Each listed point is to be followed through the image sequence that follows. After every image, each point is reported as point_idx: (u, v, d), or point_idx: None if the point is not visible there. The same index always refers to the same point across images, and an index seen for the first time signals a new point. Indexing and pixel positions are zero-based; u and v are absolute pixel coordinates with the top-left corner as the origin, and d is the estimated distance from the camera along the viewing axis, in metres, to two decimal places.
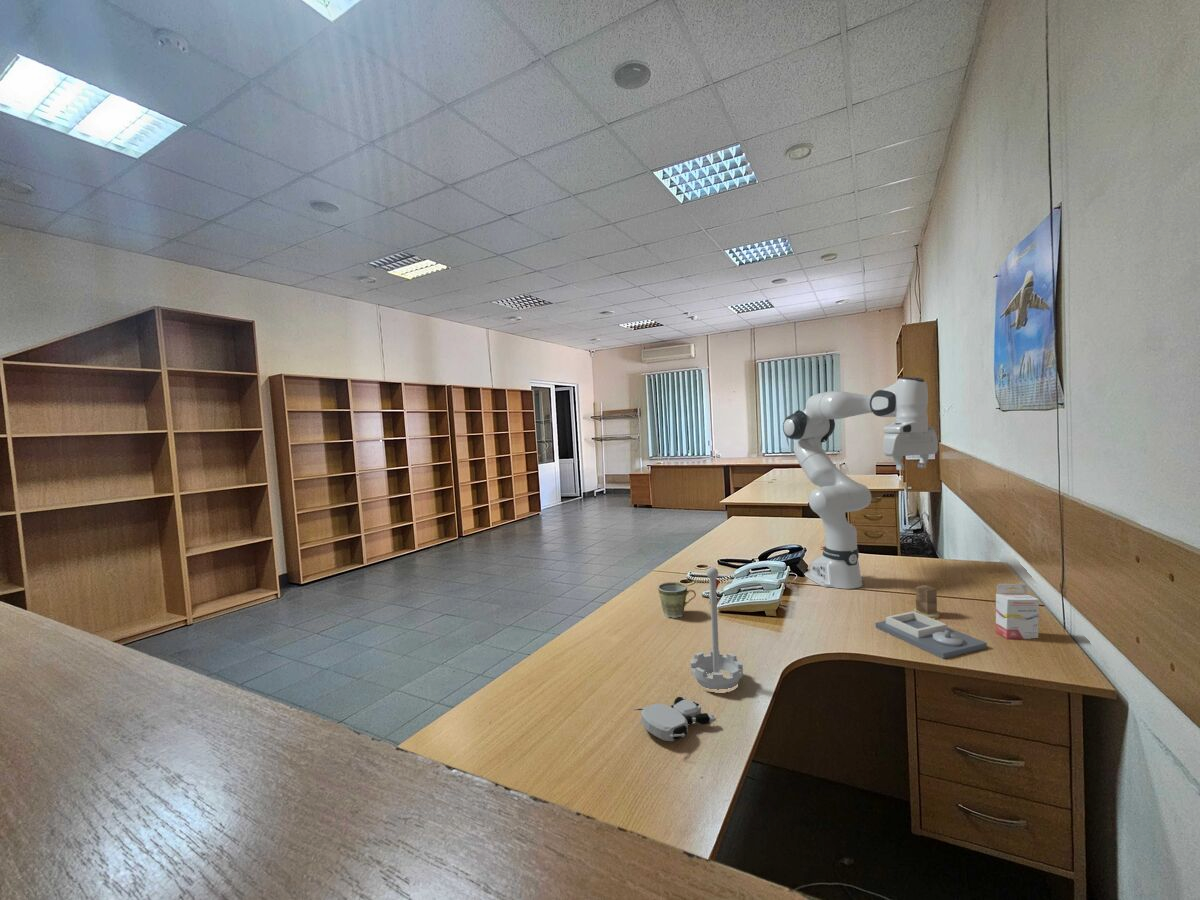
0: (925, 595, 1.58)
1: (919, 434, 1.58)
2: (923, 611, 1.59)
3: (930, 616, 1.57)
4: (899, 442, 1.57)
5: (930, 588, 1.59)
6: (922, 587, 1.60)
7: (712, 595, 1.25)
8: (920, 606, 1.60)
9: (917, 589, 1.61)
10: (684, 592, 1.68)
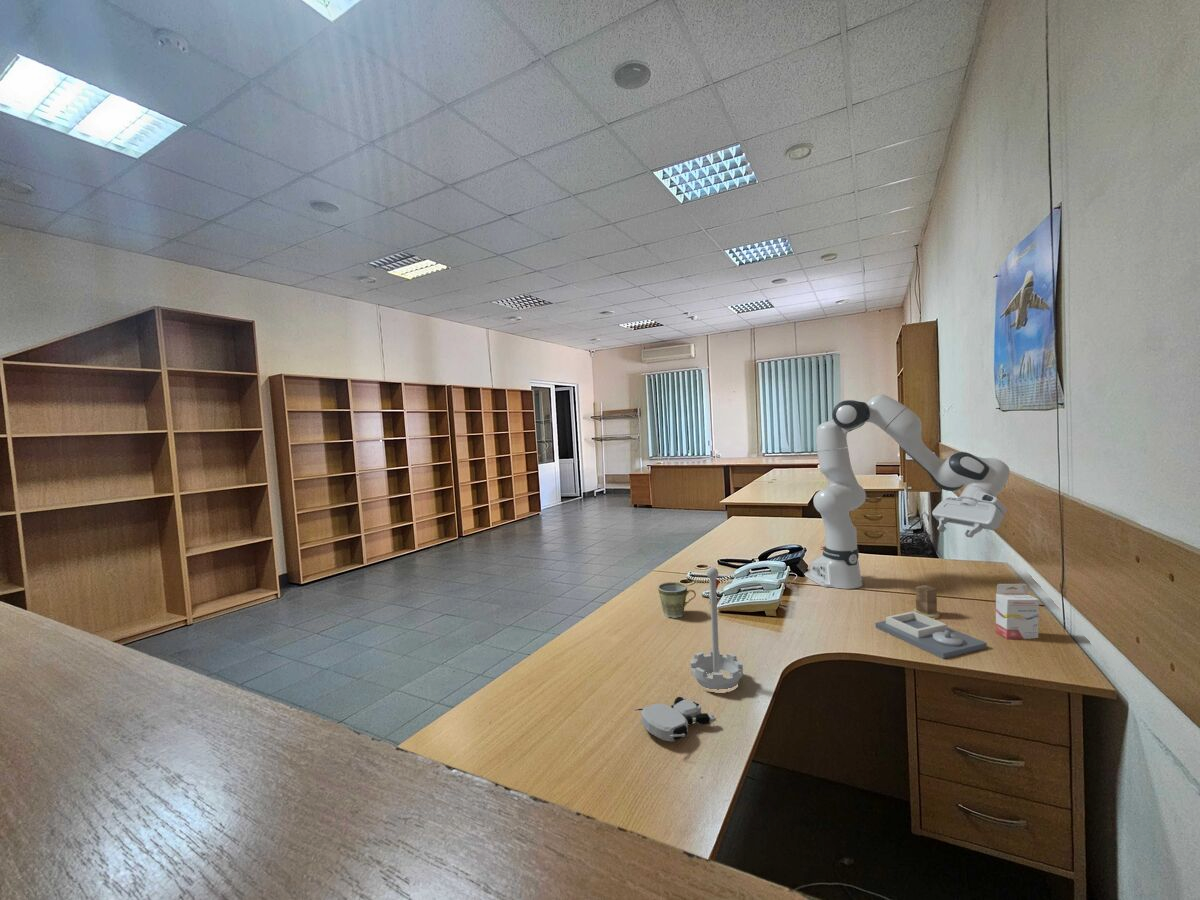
0: (925, 595, 1.58)
1: None
2: (923, 611, 1.59)
3: (930, 616, 1.57)
4: None
5: (930, 588, 1.59)
6: (922, 587, 1.60)
7: (712, 595, 1.25)
8: (920, 606, 1.60)
9: (917, 589, 1.61)
10: (684, 592, 1.68)
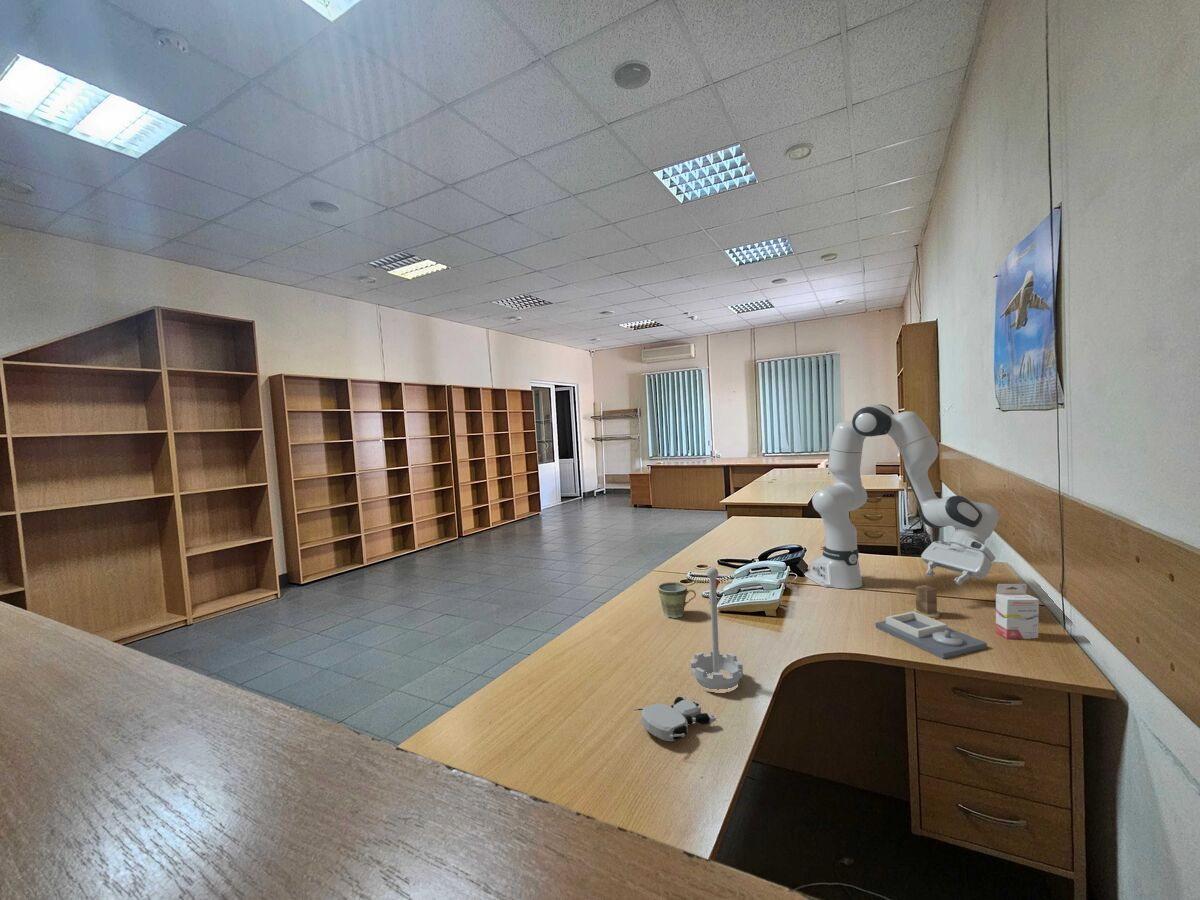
0: (925, 595, 1.58)
1: None
2: (923, 611, 1.59)
3: (930, 616, 1.57)
4: None
5: (930, 588, 1.59)
6: (922, 587, 1.60)
7: (712, 595, 1.25)
8: (920, 606, 1.60)
9: (917, 589, 1.61)
10: (684, 592, 1.68)
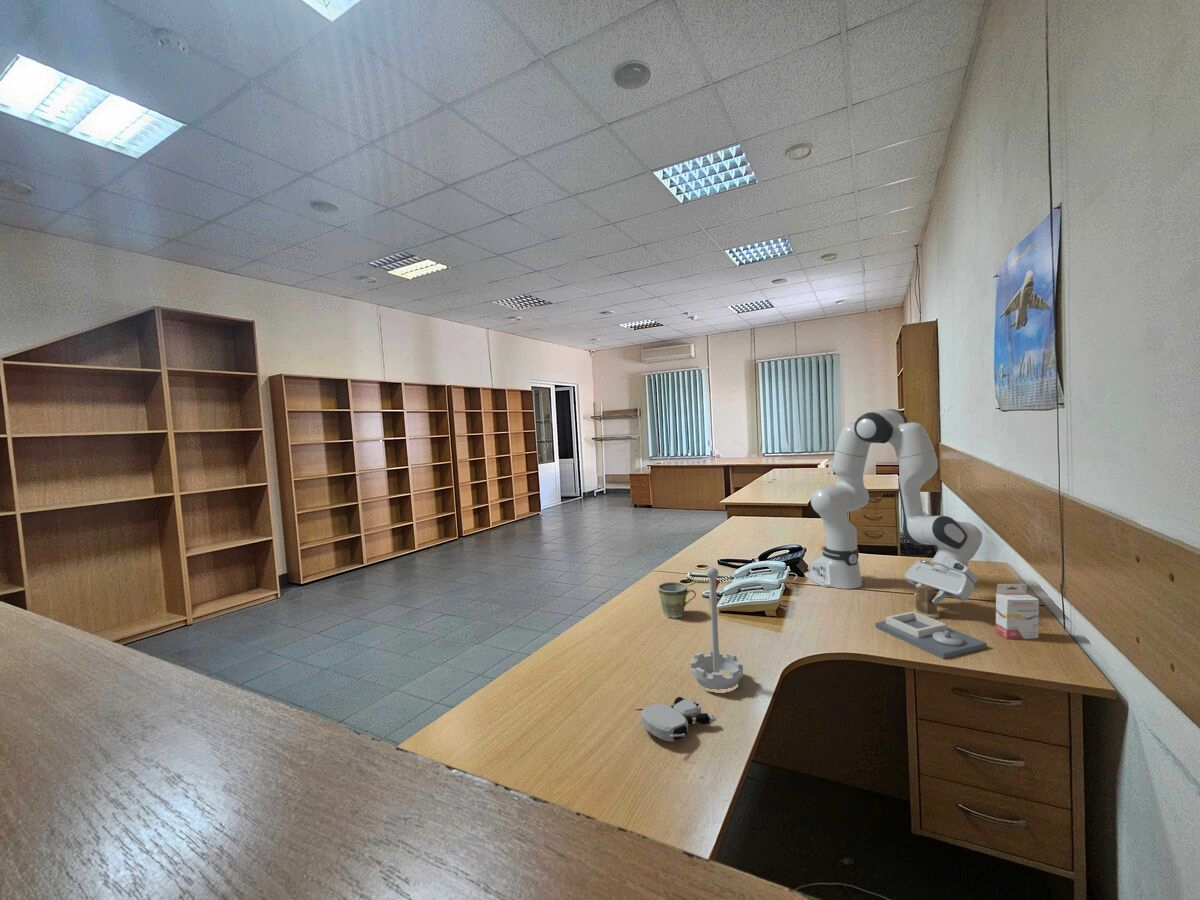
0: (925, 595, 1.58)
1: None
2: (923, 611, 1.59)
3: (930, 616, 1.57)
4: None
5: (930, 588, 1.59)
6: (922, 587, 1.60)
7: (712, 595, 1.25)
8: (920, 606, 1.60)
9: (917, 589, 1.61)
10: (684, 592, 1.68)
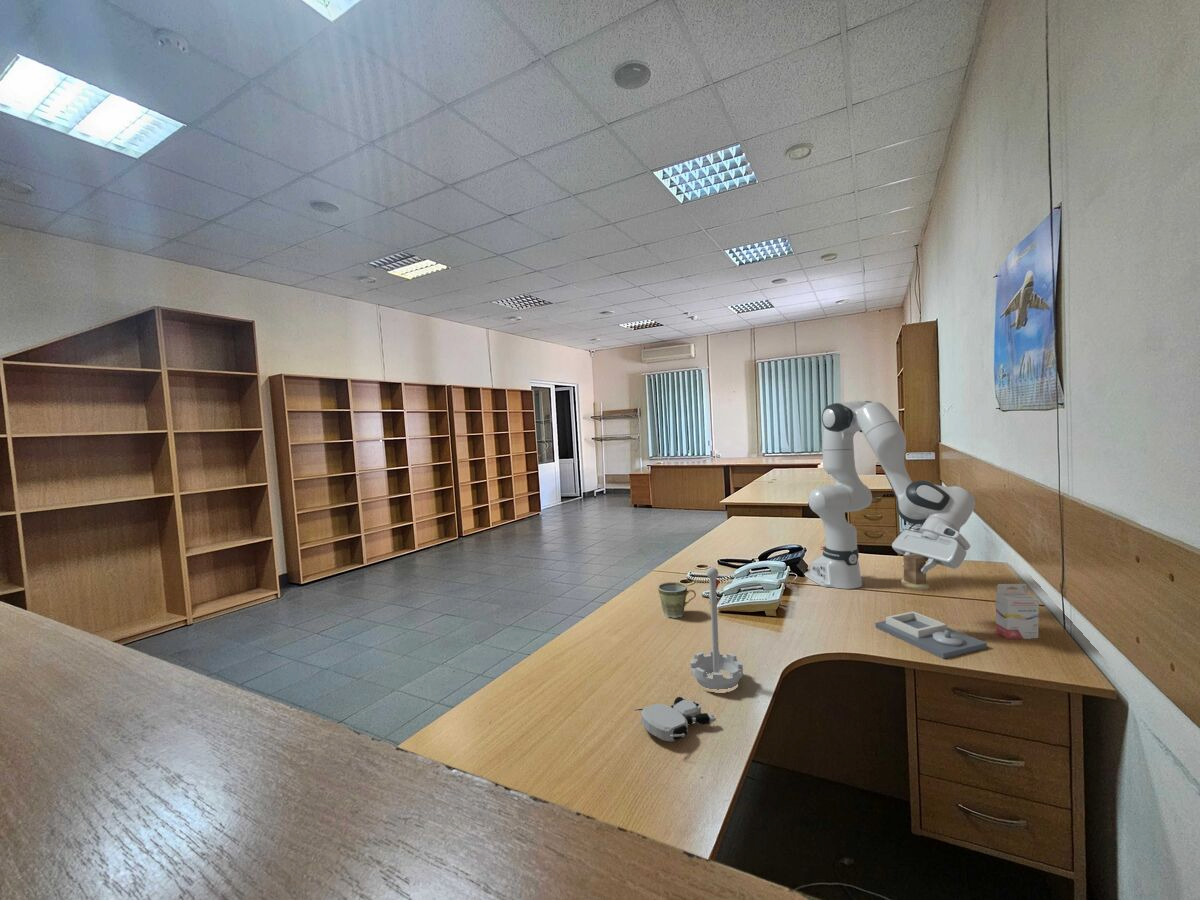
0: (913, 563, 1.46)
1: None
2: (911, 581, 1.47)
3: (919, 586, 1.45)
4: None
5: (919, 556, 1.47)
6: (910, 555, 1.48)
7: (712, 595, 1.25)
8: (908, 576, 1.48)
9: (905, 558, 1.48)
10: (684, 592, 1.68)
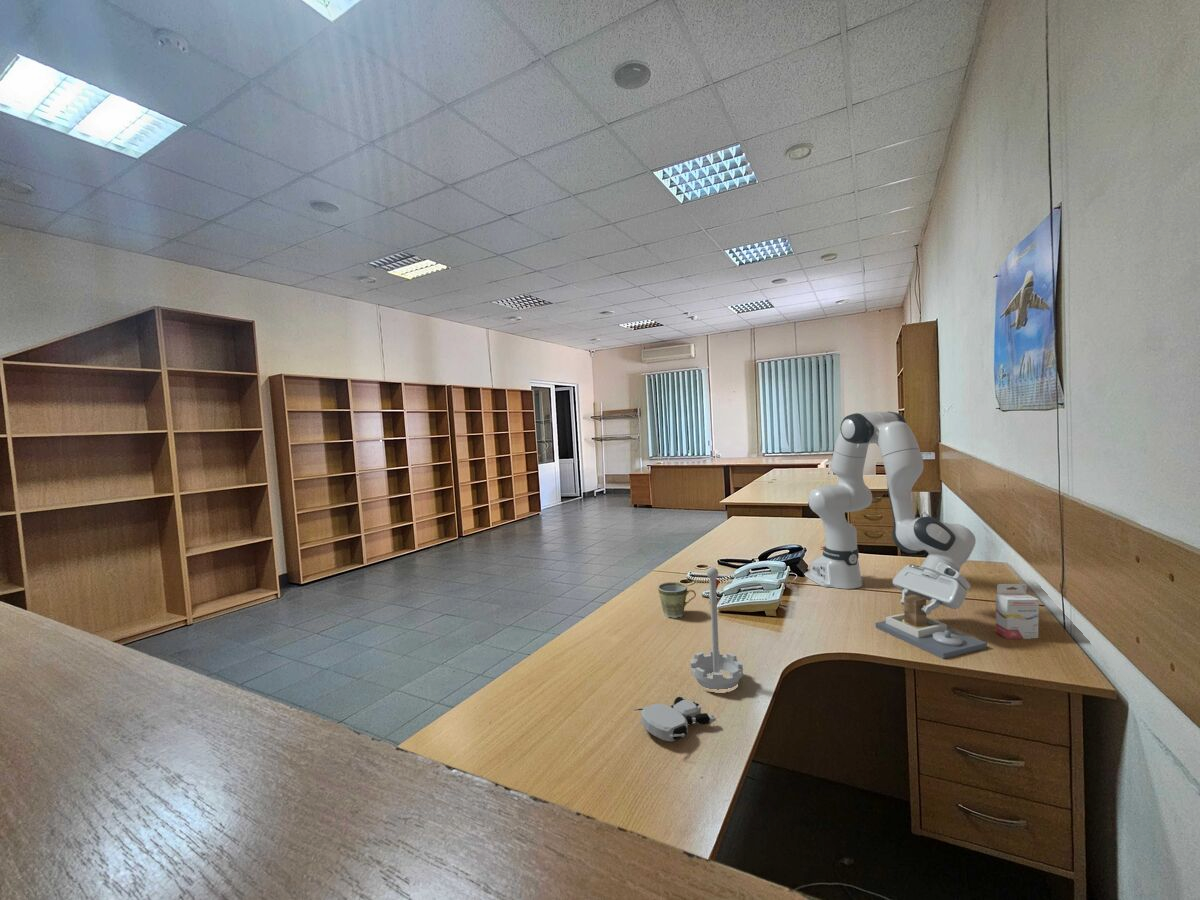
0: (914, 606, 1.47)
1: None
2: (912, 623, 1.48)
3: (919, 628, 1.45)
4: None
5: (919, 598, 1.48)
6: (911, 597, 1.49)
7: (712, 595, 1.25)
8: (909, 618, 1.48)
9: (905, 599, 1.49)
10: (684, 592, 1.68)
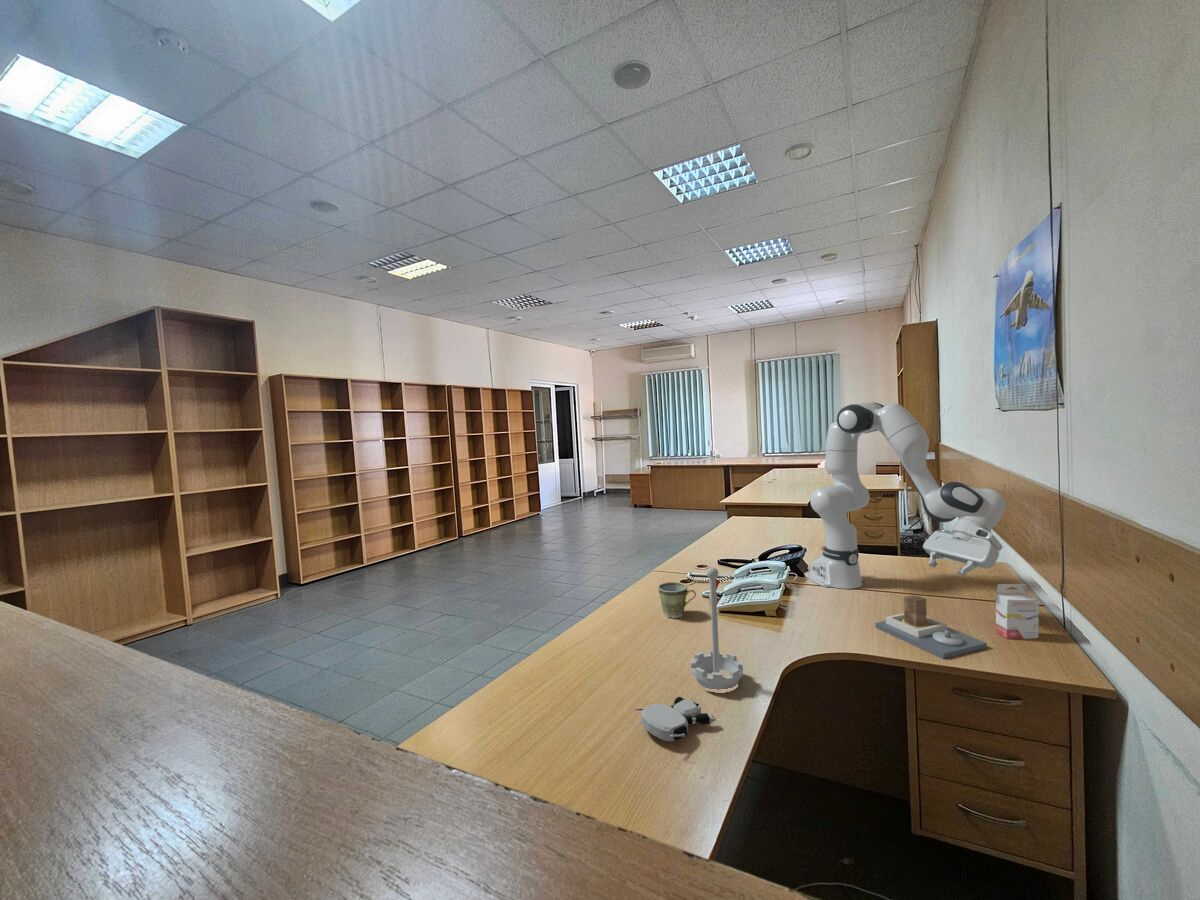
0: (914, 606, 1.47)
1: None
2: (912, 623, 1.48)
3: (919, 628, 1.45)
4: None
5: (919, 598, 1.48)
6: (911, 597, 1.49)
7: (712, 595, 1.25)
8: (909, 618, 1.48)
9: (905, 599, 1.49)
10: (684, 592, 1.68)
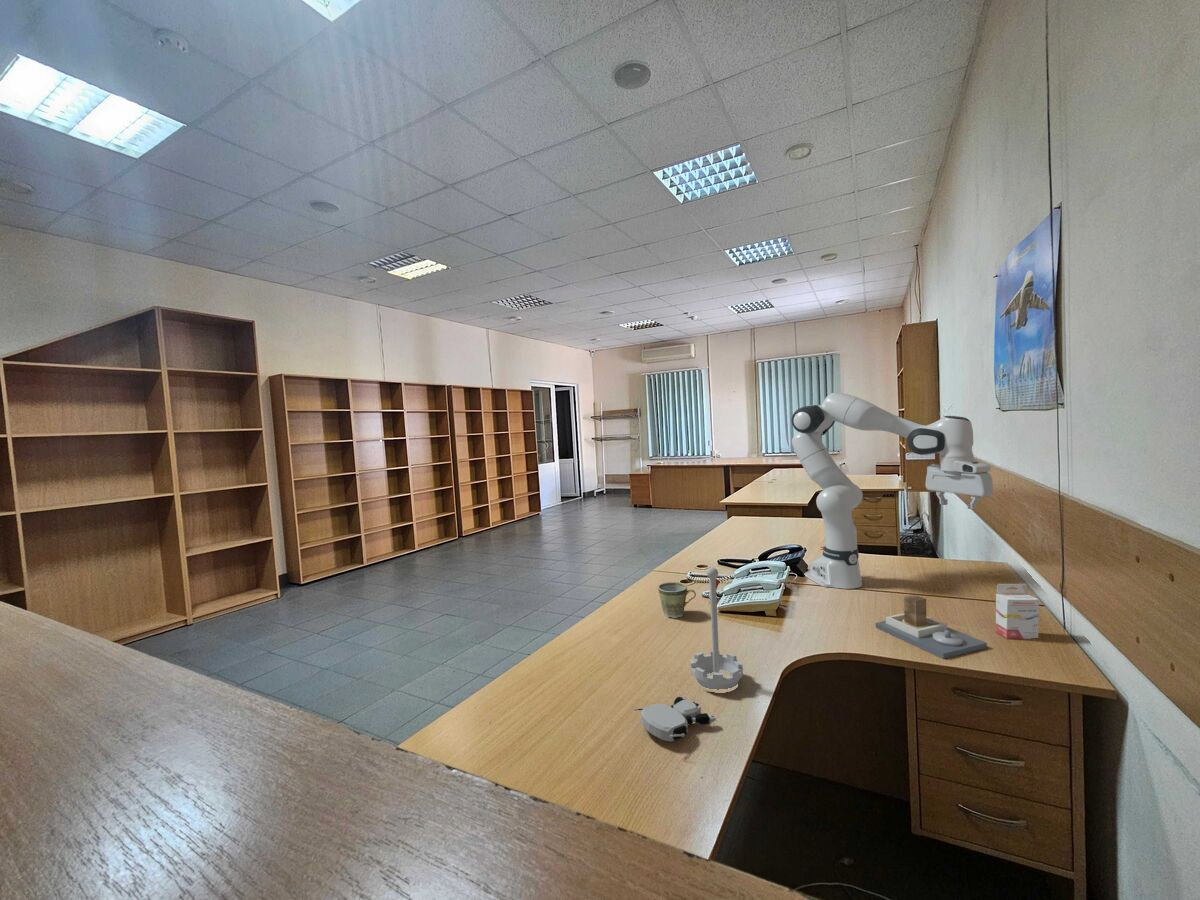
0: (914, 606, 1.47)
1: None
2: (912, 623, 1.48)
3: (919, 628, 1.45)
4: None
5: (919, 598, 1.48)
6: (911, 597, 1.49)
7: (712, 595, 1.25)
8: (909, 618, 1.48)
9: (905, 599, 1.49)
10: (684, 592, 1.68)
